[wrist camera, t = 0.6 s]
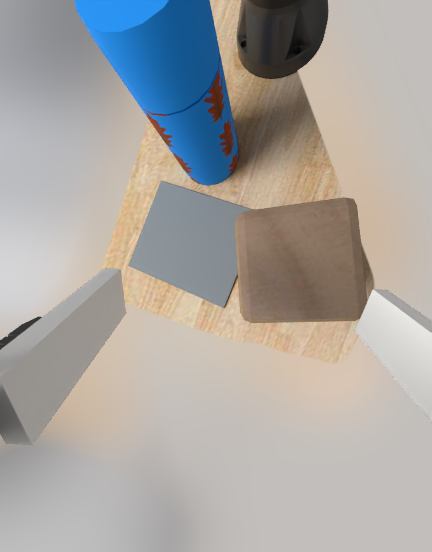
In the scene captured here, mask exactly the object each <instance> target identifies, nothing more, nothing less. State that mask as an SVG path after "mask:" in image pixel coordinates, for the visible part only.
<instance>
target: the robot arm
mask: <svg viewBox="0 0 432 552" xmlns="http://www.w3.org/2000/svg"><path fill="white" fill-rule="evenodd" d="M327 20H328V0H241V7H240V14H239V20H238V27H237V45H238V54H239V58H240V60H241V62H242V64H243V66H244V67H245V68H246V69H247V70H248V71H249V72H251V73H252V74H254V75H256V76H259V77H263V78H278V77H282V76H286V75H289V74H291V73H293V72H295V71H297V70H299V69H300V68H302V67H303V66H304V65H306V64H307V63H308V62H309V61H310V60H311V59H312V58H313V57H314V55H315V54H316V52H317V51H318V49H319V48H320V46H321V43H322V41H323V38H324V34H325V29H326V25H327ZM125 314H126V309H125V301H124V293H123V285H122V277H121V269H114V268H105V269H104V270H102V271H101V272H100V273H98V274H97V275H96V276H95V277H93V278H92V279H91V280H89V281H88V282H87V283H86V284H84V285H83V286H82V287H80V288H79V289H78V290H77V291H75V292H74V293H73V294H72V295H70V296H69V297H68V298H66V299H65V300H64V301H63V302H61V303H60V304H59V305H57V306H56V307H55V308H53V309H52V310H51V311H50V312H48V313H47V314H46V315H44V316H43V317H37V318H35V319H33V320H31V321H29V322H26V323H24V324H22V325H21V326H19V327H18V328H17V329H15V330H14V331H13V332H11V333H10V334H8V337H4V338H3V339H2V340H0V434H1V436H2V438H3V439H4V441H5V443H7V444H20V445H33V444H34V442H35V441H36V440H37V438H38V437H39V435H40V434H41V433H42V431H43V429H44V428H45V427H46V425H47V424H48V423H49V421H50V420H51V418H52V417H53V416H54V414H55V413H56V411H57V410H58V409H59V407H60V406H61V404H62V403H63V401H64V400H65V399H66V397H67V396H68V394H69V393H70V391H71V390H72V389H73V387H74V386H75V385H76V383H77V382H78V380H79V379H80V378H81V376H82V375H83V373H84V372H85V370H86V369H87V368H88V366H89V365H90V363H91V362H92V360H93V359H94V358H95V356H96V355H97V354H98V352H99V351H100V349H101V348H102V346H103V345H104V344H105V342H106V341H107V339H108V338H109V337H110V335H111V334H112V332H113V331H114V330H115V328H116V327H117V325H118V324H119V323H120V321H121V320H122V318H123V317H124V315H125ZM355 333H356V334H357V335H358V336H359V337H360V338H361V340H362V341H363V342H364V343H365V344H366V346H367V347H368V348H369V349H370V350H371V351H372V352H373V354H374V355H375V356H376V357H377V358H378V359H379V361H380V362H381V363H382V364H383V365H384V367H385V368H386V369H387V370H388V371H389V372H390V374H391V375H392V376H393V377H394V378H395V379H396V381H397V382H398V383H399V384H400V385H401V387H402V388H403V389H404V390H405V391H406V392H407V394H408V395H409V396H410V397H411V398H412V400H413V401H414V402H415V403H416V404H417V405H418V407H419V408H420V409H421V410H422V411H423V412H424V414H425V415H426V416H427V417H428V418H429V420H430V421H431V422H432V321H431V320H429V319H428V318H427V317H425V316H424V315H422V314H421V313H420V312H418V311H416V310H415V309H414V308H412V307H411V306H409V305H408V304H406V303H405V302H404V301H402V300H401V299H399V298H398V297H396V296H395V295H393V294H392V293H391V292H389V291H388V290H376V289H373V290H372V293H371V295H370V297H369V299H368V302H367V304H366V306H365V309H364V311H363V313H362V316H361V318H360V320H359V322H358V325H357V327H356V329H355Z"/></svg>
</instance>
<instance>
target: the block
mask: <svg viewBox="0 0 432 552" xmlns="http://www.w3.org/2000/svg"><path fill="white" fill-rule="evenodd" d="M235 239H236V254H237V270H238V286H239V301H240V313H241V315H242V317H243V319H244V320H246V321H248V322H251V323H276V322H322V321H355V320H358V319H360V318H361V316H362V313H363V311H364V309H365V306H366V304H367V296H366V287H365V277H364V268H363V258H362V249H361V239H360V230H359V221H358V212H357V205H356V203H355V201H354V199H350V198H338V199H330V200H323V201H316V202H309V203H301V204H294V205H287V206H280V207H272V208H265V209H258V210H251V211H244V212H243V213H240V214H238V215H237V218H236V221H235Z"/></svg>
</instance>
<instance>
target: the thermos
mask: <svg viewBox="0 0 432 552" xmlns="http://www.w3.org/2000/svg"><path fill="white" fill-rule="evenodd" d="M75 4H76V9H77V12H78V13H79V15H80V17H81V19H82V20H83V22H84V24H85V25H86V27H87V29H88V31H89V33H90V34H91V36H92V38H93V39H94V41H95V42H96V43H97V45H98V46H99V48H100V49H101V51H102V52H103V54H104V55H105V56H106V58H107V59H108V61H109V62H110V64H111V65H112V67H113V68H114V69H115V71H116V72H117V74H118V75H119V76H120V78H121V79H122V81H123V82H124V84H125V85H126V87H127V88H128V90H129V91H130V93H131V94H132V95H133V97H134V98H135V100H136V101H137V102H138V104H139V105H140V107H141V108H142V110H143V111H144V113H145V114H146V116H147V117H148V119H149V120H150V121H151V123H152V124H153V126H154V127H155V129H156V130H157V132H158V133H159V134H160V136H161V137H162V139H163V140H164V142H165V143H166V145H167V146H168V147H169V149H170V150H171V152H172V153H173V155H174V156H175V158H176V159H177V160H178V162H179V163H180V165H181V166H182V168H183V169H184V170H185V172H186V173H187V174H188V175H189V176H190V178H191V179H192V180H194V181H195V182H197V183H199V184H203V185H213V184H218V183H220V182H221V181H223V180H225V179H226V178H227V177H228V176H229V175H230V174H231V173H232V172H233V170H234V168H235V166H236V164H237V160H238V146H237V138H236V132H235V127H234V122H233V117H232V112H231V107H230V102H229V97H228V92H227V87H226V82H225V77H224V72H223V66H222V61H221V56H220V51H219V46H218V41H217V36H216V31H215V26H214V21H213V16H212V11H211V5H210V0H75Z"/></svg>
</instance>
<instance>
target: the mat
mask: <svg viewBox="0 0 432 552" xmlns="http://www.w3.org/2000/svg"><path fill="white" fill-rule="evenodd" d="M244 211H251V209H248V208H245V207H242V206H239V205H235V204H232V203H229V202H226V201H223V200H220V199H216V198H213V197H210V196H207V195H204V194H201V193H198V192H194V191H191V190H188V189H185V188H182V187H179V186H175V185H172V184H169V183H166V182H163V181H161V182H160V185H159V188H158V190H157V193H156V195H155V198H154V201H153V203H152V206H151V208H150V211H149V214H148V216H147V219H146V221H145V224H144V226H143V229H142V232H141V234H140V237H139V239H138V242H137V245H136V247H135V250H134V252H133V255H132V258H131V260H130V263H129V265H128V266H130V267H133V268H135V269H137V270H139V271H142V272H144V273H146V274H148V275H151V276H153V277H155V278H157V279H160V280H162V281H164V282H166V283H169V284H171V285H173V286H175V287H178V288H180V289H182V290H184V291H187V292H189V293H191V294H193V295H196V296H198V297H200V298H202V299H205V300H207V301H209V302H212V303H214V304H216V305H218V306H221V307H223V308H224V307H225V304H226V302H227V299H228V297H229V294H230V292H231V289H232V287H233V284H234V282H235V279H236V277H237V274H238V270H237V254H236V239H235V221H236V218H237V215H238V214H240V213H243V212H244Z"/></svg>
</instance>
